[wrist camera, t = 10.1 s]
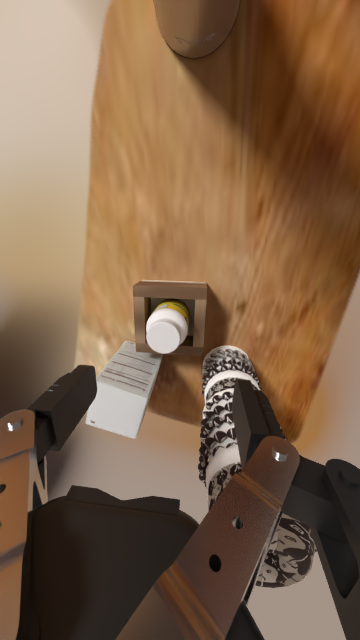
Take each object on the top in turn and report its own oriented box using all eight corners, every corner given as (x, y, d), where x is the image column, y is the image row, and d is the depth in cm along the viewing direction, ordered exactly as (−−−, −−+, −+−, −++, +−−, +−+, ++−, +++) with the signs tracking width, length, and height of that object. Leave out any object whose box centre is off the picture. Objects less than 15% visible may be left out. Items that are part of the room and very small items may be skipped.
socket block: (143, 279, 34) (132, 285, 29) (206, 282, 33) (207, 288, 28) (145, 337, 37) (136, 351, 32) (202, 341, 36) (202, 356, 31)
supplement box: (155, 384, 40) (135, 441, 28) (117, 372, 40) (82, 424, 28) (165, 351, 38) (149, 399, 26) (126, 338, 38) (91, 380, 26)
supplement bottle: (196, 320, 34) (194, 348, 25) (167, 335, 35) (155, 366, 26) (179, 290, 32) (171, 308, 23) (150, 306, 34) (130, 329, 25)
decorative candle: (203, 339, 36) (206, 509, 13) (258, 347, 36) (367, 539, 12) (196, 384, 39) (188, 588, 16) (247, 392, 39) (316, 615, 15)
